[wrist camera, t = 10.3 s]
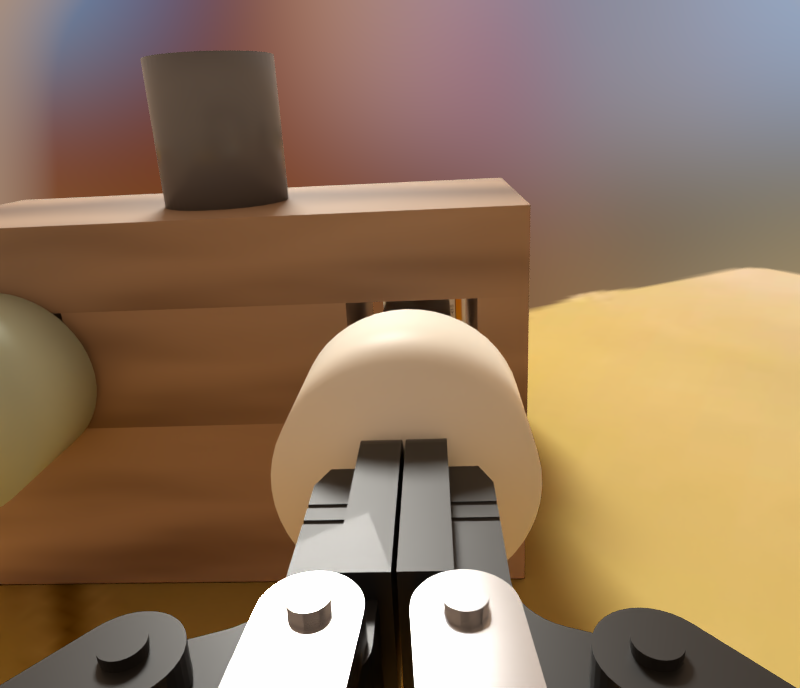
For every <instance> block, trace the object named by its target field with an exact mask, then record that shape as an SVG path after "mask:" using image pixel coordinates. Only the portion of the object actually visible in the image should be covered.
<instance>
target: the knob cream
mask: <svg viewBox="0 0 800 688" xmlns="http://www.w3.org/2000/svg"><path fill="white" fill-rule="evenodd" d="M442 438H447V452H448V466H479V467H480V468H481V469H482V470H483V471H484V472H485V473H486V474H487V476H488V477H489V478H490V479H491V480H492V481H493V482H494V488H495V493H496V499H497V505H498V510H499V516H500V522H501V528H502V533H503V539H504V545H505V550H506V556H507V560H508V559H509V558H510V557H511V556H512V555H513V554H514V553H515V552H516V551H517V549H518V548H519V547H520V546H521V544H522V543H523V542H524V540H525V538H526V537H527V535H528V533H529V532H530V530H531V528H532V526H533V523H534V521H535V518H536V516H537V513H538V509H539V505H540V501H541V492H542V469H541V464H540V459H539V454H538V451H537V448H536V444H535V441H534V438H533V435H532V432H531V429H530V425H529V422H528V419H527V416H526V413H525V410H524V406H523V403H522V400H521V397H520V394H519V391H518V387H517V384H516V382H515V379H514V376H513V373H512V371H511V369H510V367H509V366H508V364H507V362H506V360H505V359H504V357H503V356H502V355H501V353H500V352H499V350H498V349H497V348H496V347H495V346H494V345H493V344H492V343H491V342H490V341H489V340H488V339H487V338H486V337H485V336H484V335H482V334H481V333H480V332H478V331H477V330H476V329H474V328H473V327H471V326H469V325H468V324H466V323H464V322H462V321H460V320H457V319H455V318H453V317H451V312H450V302H449V299H443V300H416V301H388V302H385V306H384V311H383V312H382V313H378V314H374V315H372V316H369V317H366V318H364V319H361V320H359V321H357V322H355V323H354V324H352V325H350V326H348V327H347V328H345V329H344V330H343V331H341V332H340V333H338V334H337V335H336V336H335V337H334V338H333V339H332V340H331V341H330V342H328V343H327V345H326V346H325V347H324V348H323V350H322V351H321V352H320V353H319V355H318V356H317V358H316V360H315V361H314V363H313V365H312V366H311V369H310V371H309V373H308V375H307V377H306V379H305V381H304V383H303V386H302V388H301V390H300V392H299V394H298V396H297V398H296V400H295V403H294V405H293V407H292V409H291V411H290V413H289V415H288V417H287V420H286V422H285V424H284V426H283V428H282V430H281V433H280V435H279V438H278V440H277V442H276V445H275V449H274V454H273V458H272V466H271V489H272V494H273V499H274V504H275V507H276V510H277V513H278V516H279V518H280V521H281V523H282V524H283V526H284V528H285V530H286V532H287V534H288V535H289V537H290V538H291V539H292V541H293V542H294V544H295V545H296V543H297V540H298V537H299V534H300V530H301V527H302V524H304V517H305V514H306V511H307V508H308V504H309V501H310V498H311V494H312V491H313V488H314V485H315V484H316V483H317V482H319V481H320V480H321V479H322V478H323V477H324V476H325V475H326V474H327V473H328V472H329V471H330V470H331V469H355V466H356V461H357V456H358V452H359V447H360V442H361V441H366V440H402V441H403V451H404V457H405V442H406V439H442Z"/></svg>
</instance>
